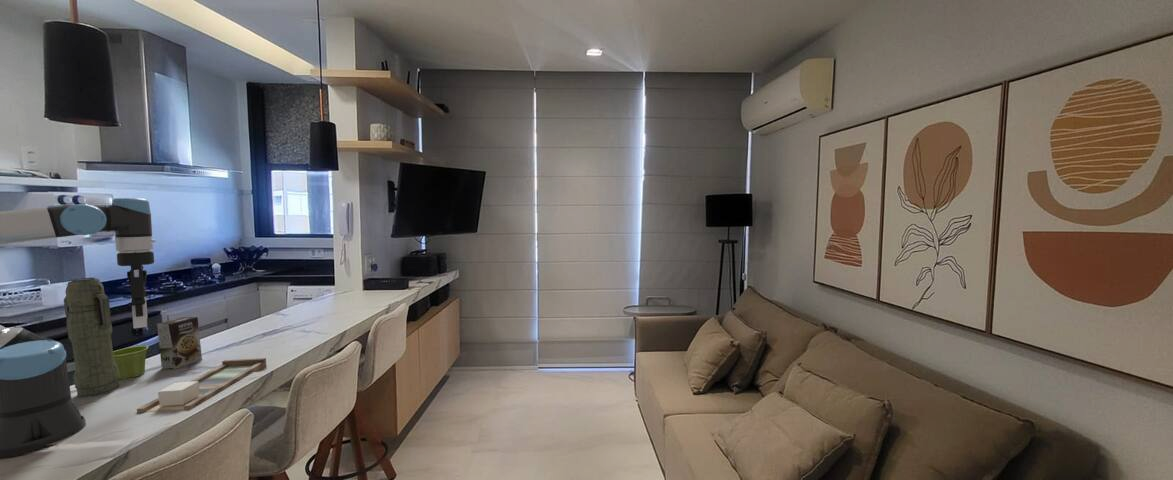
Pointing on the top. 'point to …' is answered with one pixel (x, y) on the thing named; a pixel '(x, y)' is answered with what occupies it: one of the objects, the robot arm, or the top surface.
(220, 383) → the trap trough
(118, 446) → the top surface
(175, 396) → the cream block
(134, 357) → the plant pot
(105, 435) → the top surface
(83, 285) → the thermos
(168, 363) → the coffee box
